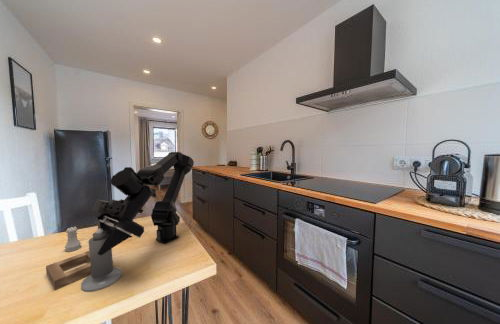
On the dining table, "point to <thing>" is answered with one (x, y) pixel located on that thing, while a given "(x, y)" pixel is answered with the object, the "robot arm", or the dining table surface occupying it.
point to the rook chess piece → (72, 240)
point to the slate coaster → (101, 281)
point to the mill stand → (61, 278)
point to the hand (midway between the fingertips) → (94, 252)
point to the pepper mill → (100, 263)
